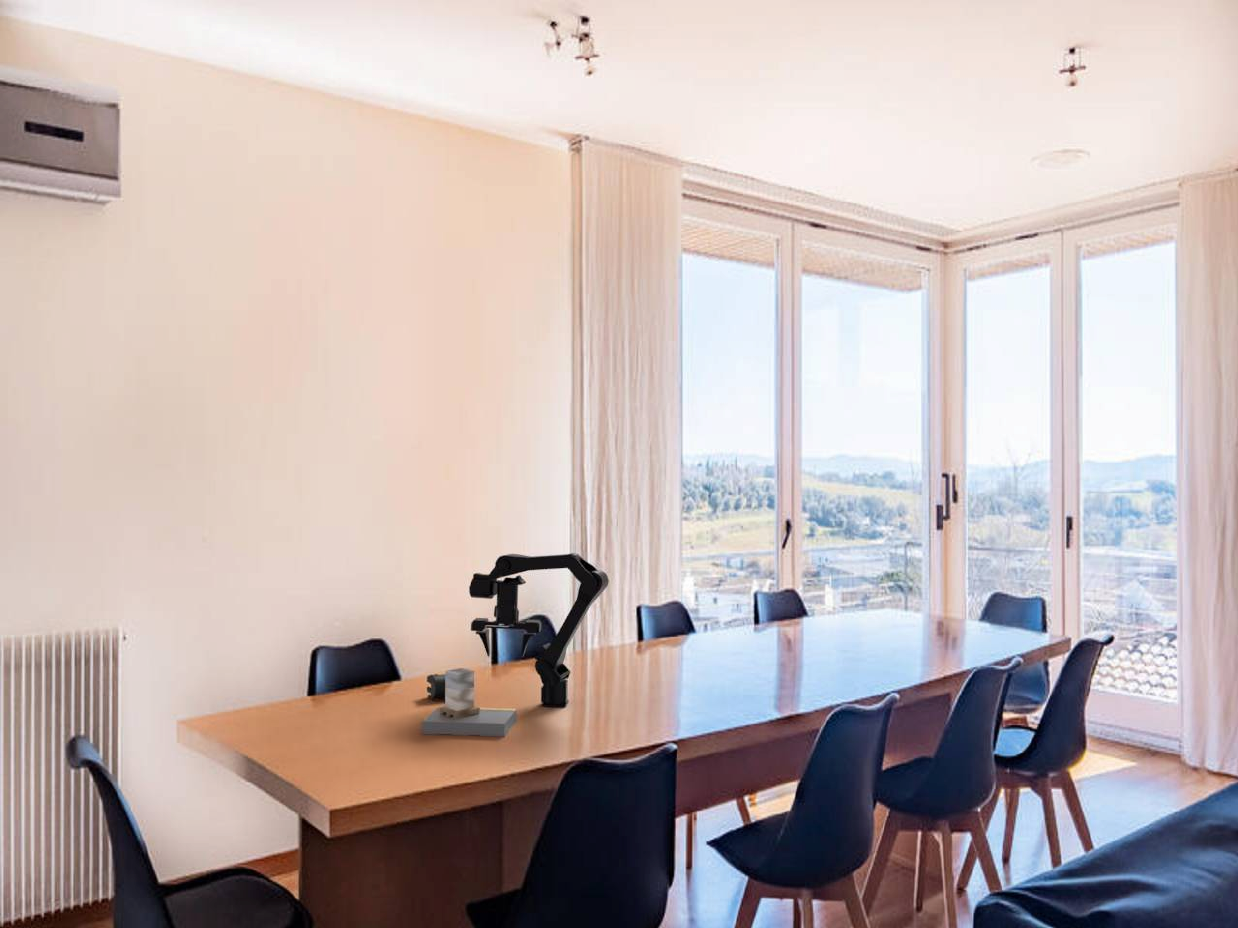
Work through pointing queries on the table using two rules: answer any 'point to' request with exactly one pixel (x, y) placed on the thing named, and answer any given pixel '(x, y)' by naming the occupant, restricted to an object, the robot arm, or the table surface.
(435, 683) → the end cap
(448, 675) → the wrapped pallet load
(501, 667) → the table surface
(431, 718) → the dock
